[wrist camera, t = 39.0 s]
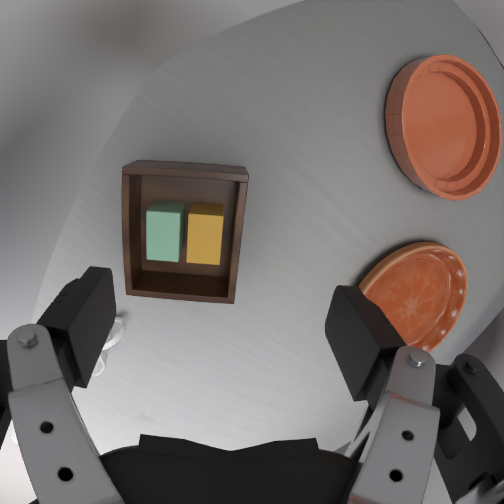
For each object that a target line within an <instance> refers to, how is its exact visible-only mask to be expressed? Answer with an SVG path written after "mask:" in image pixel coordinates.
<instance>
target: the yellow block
mask: <svg viewBox="0 0 504 504" xmlns="http://www.w3.org/2000/svg"><path fill="white" fill-rule="evenodd" d="M223 220H224V205H216V204H203V203H193V204H192V207H191V209H190V212H189V215H188V235H187V263H200V264H213V265H220V254H221V242H222V231H223Z"/></svg>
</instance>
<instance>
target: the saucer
mask: <svg viewBox="0 0 504 504" xmlns="http://www.w3.org/2000/svg"><path fill="white" fill-rule="evenodd" d="M467 287H468V280H467V272H466V269H465V266H464V264H463V262H462V260H461V258H460V257H459V256H458V255H457V254H456V253H455V252H454V251H453V250H451V249H449V248H448V247H446V246H444V245H442V244H439V243H435V242H418V243H414V244H410V245H407V246H405V247H402V248H400V249H398V250H396V251H395V252H393V253H391V254H390V255H388V256H387V257H386V258H384V259H383V260H382V261H381V262H379V263H378V264H377V265H376V266H375V267H374V268H373V269H372V270H371V271H370V272H369V273H368V274H367V276H366V277H365V278H364V279H363V281H362V282H361V284H360V285H359V288H360V290H361V291H362V292H363V294H364V295H365V296H366V298H367V299H369V300H371V301H372V302H373V303H375V304H376V305H377V306H379V307H380V308H381V310H382V311H383V313H384V314H385V315H386V317H387V318H388V319H389V321H390V322H391V324H392V325H393V326H394V328H395V329H396V330H397V332H398V333H399V335H400V336H401V337H402V339H403V340H404V342H405V343H406V344H407V346H415V347H418V348H421V349H423V350H425V351H426V352H428V353H429V352H431V351H432V350H433V349H434V348H435V347H436V346H438V345H439V344H440V343H441V342H442V340H443V339H444V338H445V337H446V336H447V335H448V333H449V332H450V331H451V329H452V328H453V326H454V325H455V323H456V321H457V320H458V318H459V316H460V314H461V311H462V309H463V306H464V303H465V300H466V295H467Z"/></svg>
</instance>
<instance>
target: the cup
mask: <svg viewBox="0 0 504 504" xmlns="http://www.w3.org/2000/svg"><path fill="white" fill-rule="evenodd" d="M115 322H120V323H122V325H121V326H120V328H119V330H118V331H117V333H116V334H115V335H114V336H113V337H112V338H111V339H110V333H109V335H108V338H107V340H106V342H105V344H104V347H103V349H102V351H101V354H100V356H99V358H98V361H97V363H96V366H95V368H94V370H93V373H92V375H91V376H98V375H99V374H100V373H101V372H102V371H103V370H104V369H105V368H106V362H107V356H108V351H109V348H110V347H112V346H113V345H114V344H115V343H116V342H117V341H119V340H120V338H121V337H122V335H123V334H124V332H125V330H126V323H125V321H124V320H123V319H122V318H120V317H115ZM111 330H112V329H111Z"/></svg>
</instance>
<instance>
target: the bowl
mask: <svg viewBox="0 0 504 504" xmlns="http://www.w3.org/2000/svg"><path fill="white" fill-rule="evenodd" d="M385 118H386V130H387V136H388V140H389V143H390V147H391V150H392V153H393V155H394V157H395V159H396V161H397V163H398V165H399V166H400V168H401V170H402V171H403V172H404V173H405V175H406V176H407V177H408V178H409V179H410V180H411V181H412V182H413V183H414V184H416V185H417V186H419V187H421V188H422V189H424V190H426V191H428V192H430V193H432V194H435V195H437V196H439V197H442V198H445V199H449V200H453V201H455V200H463V199H468V198H470V197H471V196H473V195H475V194H477V193H478V192H479V191H480V190H481V189H483V188H484V187H485V186H486V185H487V184H488V182H489V180H490V179H491V177H492V175H493V174H494V172H495V170H496V167H497V164H498V161H499V158H500V153H501V146H502V124H501V123H502V122H501V117H500V112H499V108H498V105H497V102H496V100H495V97H494V95H493V92H492V90H491V88H490V87H489V85H488V84H487V82H486V80H485V79H484V77H483V76H482V75H481V74H480V73H479V72H478V71H477V70H476V69H475V68H474V67H473V66H472V65H471V64H469V63H467V62H466V61H464V60H462V59H461V58H459V57H455V56H451V55H447V54H444V55H437V56H431V57H426V58H421V59H417V60H414V61H412V62H411V63H409V64H408V65H406V66H404V67H403V68H402V69H401V71H400V72H399V73H398V74H397V76H396V77H395V78H394V80H393V82H392V85H391V88H390V90H389V93H388V96H387V103H386V111H385Z"/></svg>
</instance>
